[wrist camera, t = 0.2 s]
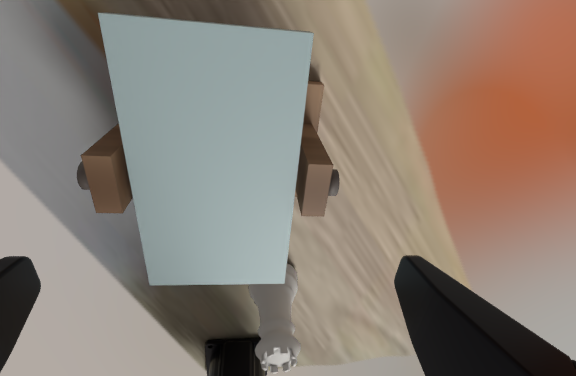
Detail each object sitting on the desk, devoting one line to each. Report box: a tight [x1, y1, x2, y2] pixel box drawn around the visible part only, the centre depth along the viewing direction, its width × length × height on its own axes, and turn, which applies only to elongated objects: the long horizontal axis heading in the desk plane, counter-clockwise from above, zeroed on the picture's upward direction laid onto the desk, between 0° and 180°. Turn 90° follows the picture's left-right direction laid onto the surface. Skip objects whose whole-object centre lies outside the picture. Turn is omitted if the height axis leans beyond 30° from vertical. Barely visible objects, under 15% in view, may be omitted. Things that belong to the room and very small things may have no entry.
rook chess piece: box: [248, 264, 301, 374], centre depth 24 cm, size 4×4×8 cm
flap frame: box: [77, 81, 339, 216], centre depth 18 cm, size 8×12×7 cm, turn 85°
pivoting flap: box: [98, 13, 314, 285], centre depth 16 cm, size 14×8×2 cm, turn 175°
